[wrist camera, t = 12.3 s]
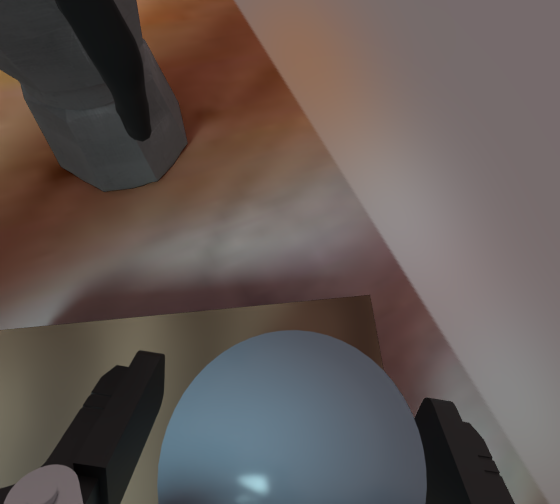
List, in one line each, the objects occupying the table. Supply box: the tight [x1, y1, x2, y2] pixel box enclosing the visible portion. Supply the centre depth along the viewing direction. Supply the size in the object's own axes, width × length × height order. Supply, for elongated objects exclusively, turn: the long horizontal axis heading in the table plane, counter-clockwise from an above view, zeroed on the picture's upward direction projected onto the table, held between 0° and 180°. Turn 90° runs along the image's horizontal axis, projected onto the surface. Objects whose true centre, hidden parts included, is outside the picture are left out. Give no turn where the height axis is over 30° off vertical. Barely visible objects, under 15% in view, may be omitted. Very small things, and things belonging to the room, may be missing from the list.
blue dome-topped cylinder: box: [157, 330, 427, 504], centre depth 12 cm, size 6×6×10 cm
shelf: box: [0, 295, 384, 504], centre depth 19 cm, size 19×10×5 cm, turn 96°
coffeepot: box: [0, 0, 187, 192], centre depth 18 cm, size 15×9×18 cm, turn 38°
